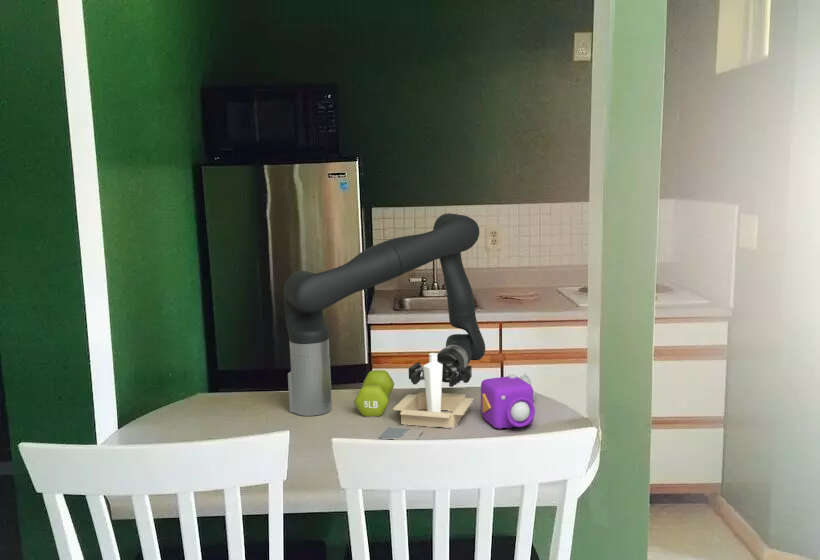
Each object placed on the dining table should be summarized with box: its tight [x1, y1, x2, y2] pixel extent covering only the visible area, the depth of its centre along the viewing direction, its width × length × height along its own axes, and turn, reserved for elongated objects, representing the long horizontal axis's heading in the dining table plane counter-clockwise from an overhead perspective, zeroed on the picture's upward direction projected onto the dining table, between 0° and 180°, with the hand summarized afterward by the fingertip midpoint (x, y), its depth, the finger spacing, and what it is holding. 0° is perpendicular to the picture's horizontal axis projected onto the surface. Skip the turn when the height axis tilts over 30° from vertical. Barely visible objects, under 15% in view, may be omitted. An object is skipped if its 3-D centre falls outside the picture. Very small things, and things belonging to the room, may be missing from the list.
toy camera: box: [480, 373, 536, 430], centre depth 155 cm, size 11×14×10 cm
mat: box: [379, 426, 411, 438], centre depth 151 cm, size 8×6×1 cm
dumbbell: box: [354, 369, 395, 418], centre depth 170 cm, size 16×8×7 cm, turn 175°
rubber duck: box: [519, 372, 537, 402], centre depth 169 cm, size 5×7×8 cm
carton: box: [392, 391, 475, 428], centre depth 160 cm, size 16×16×4 cm
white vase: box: [422, 352, 443, 412], centre depth 160 cm, size 5×4×15 cm
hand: (432, 381), depth 158 cm, fingers open, 8 cm apart
